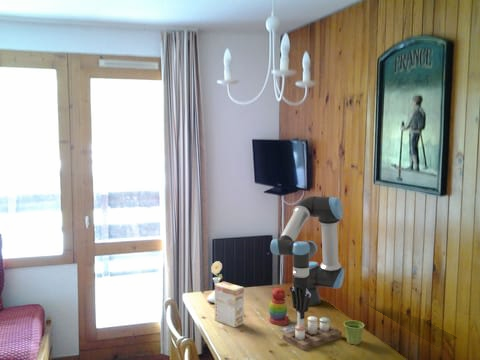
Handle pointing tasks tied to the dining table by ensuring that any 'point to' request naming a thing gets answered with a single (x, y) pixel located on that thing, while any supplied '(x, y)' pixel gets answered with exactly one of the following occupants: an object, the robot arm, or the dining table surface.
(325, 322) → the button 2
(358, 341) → the plant pot
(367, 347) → the dining table surface
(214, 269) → the flower in vase
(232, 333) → the dining table surface
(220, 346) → the dining table surface
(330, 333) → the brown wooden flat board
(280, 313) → the stacking bear
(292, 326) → the card
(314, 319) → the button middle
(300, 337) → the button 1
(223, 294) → the coffeecake box
